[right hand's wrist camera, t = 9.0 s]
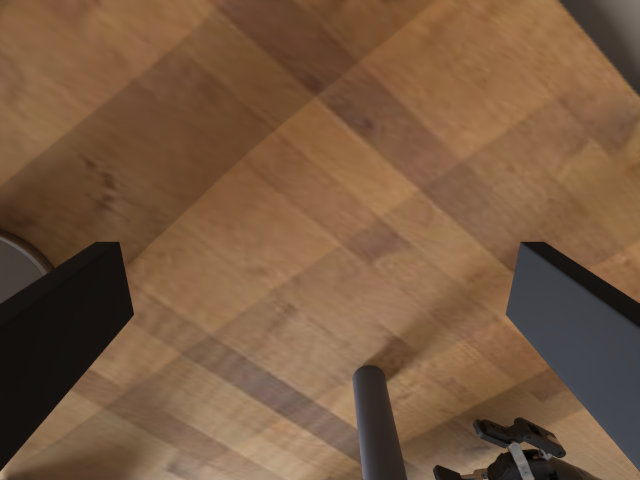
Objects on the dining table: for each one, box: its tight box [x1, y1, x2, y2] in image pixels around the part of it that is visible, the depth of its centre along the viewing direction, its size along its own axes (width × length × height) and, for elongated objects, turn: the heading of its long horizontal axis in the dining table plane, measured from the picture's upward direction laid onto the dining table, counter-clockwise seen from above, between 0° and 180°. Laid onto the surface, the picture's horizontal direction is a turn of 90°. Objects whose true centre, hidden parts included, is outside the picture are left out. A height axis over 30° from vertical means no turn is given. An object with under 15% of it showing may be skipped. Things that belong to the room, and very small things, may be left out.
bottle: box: [353, 366, 407, 480], centre depth 39 cm, size 4×4×23 cm
